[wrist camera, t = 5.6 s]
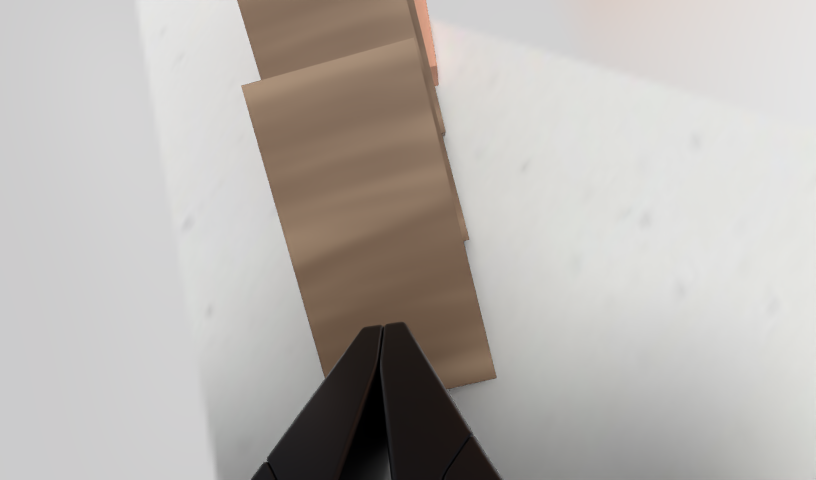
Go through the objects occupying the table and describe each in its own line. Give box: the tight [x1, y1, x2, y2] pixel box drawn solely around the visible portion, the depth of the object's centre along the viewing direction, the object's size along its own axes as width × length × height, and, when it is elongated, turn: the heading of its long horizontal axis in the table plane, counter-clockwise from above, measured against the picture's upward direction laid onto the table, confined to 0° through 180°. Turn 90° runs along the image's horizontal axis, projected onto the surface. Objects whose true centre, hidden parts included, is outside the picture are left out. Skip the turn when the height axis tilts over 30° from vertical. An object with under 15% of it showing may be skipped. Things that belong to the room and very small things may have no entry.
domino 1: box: [237, 0, 469, 241], centre depth 16 cm, size 2×5×10 cm
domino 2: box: [241, 38, 496, 389], centre depth 15 cm, size 2×5×10 cm
